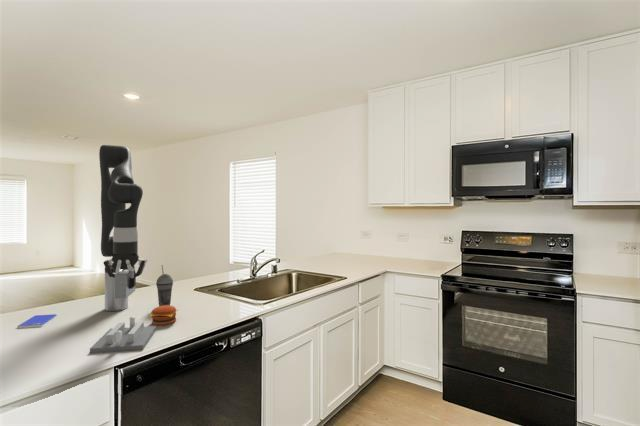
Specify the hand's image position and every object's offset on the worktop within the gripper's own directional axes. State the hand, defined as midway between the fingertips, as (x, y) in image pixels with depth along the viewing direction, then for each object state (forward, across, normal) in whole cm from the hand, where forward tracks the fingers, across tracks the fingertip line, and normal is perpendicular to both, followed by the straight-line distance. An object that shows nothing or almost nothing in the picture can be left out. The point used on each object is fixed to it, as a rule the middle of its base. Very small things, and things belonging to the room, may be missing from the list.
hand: (125, 288), depth 122 cm
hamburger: (+19, -9, -18) cm, 28 cm away
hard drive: (+20, +40, -26) cm, 51 cm away
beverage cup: (+19, -5, -38) cm, 43 cm away
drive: (+2, 0, 0) cm, 2 cm away
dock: (+19, 0, 0) cm, 19 cm away
